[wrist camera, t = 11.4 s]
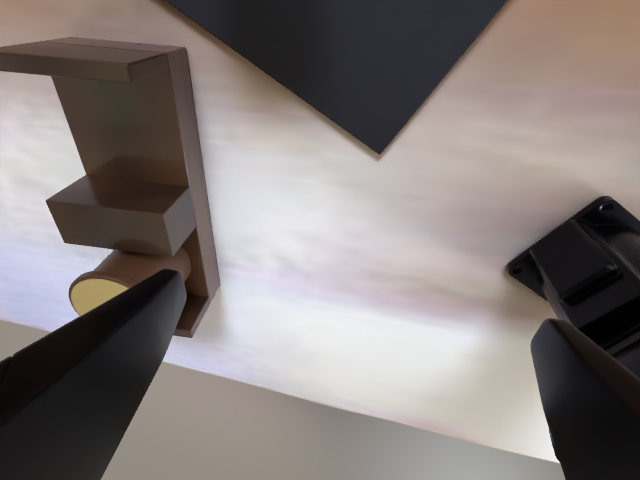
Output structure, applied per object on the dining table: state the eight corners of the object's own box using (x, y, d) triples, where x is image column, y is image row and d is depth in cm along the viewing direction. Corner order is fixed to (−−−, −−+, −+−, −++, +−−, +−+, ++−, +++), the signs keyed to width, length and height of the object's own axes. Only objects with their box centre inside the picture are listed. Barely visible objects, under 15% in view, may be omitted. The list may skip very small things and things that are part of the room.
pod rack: (186, 47, 17) (127, 63, 13) (220, 284, 26) (192, 338, 22) (69, 36, 17) (-24, 50, 13) (143, 274, 26) (101, 325, 22)
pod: (207, 253, 22) (172, 309, 18) (180, 298, 24) (145, 354, 21) (131, 211, 21) (75, 260, 17) (111, 262, 23) (60, 315, 19)
